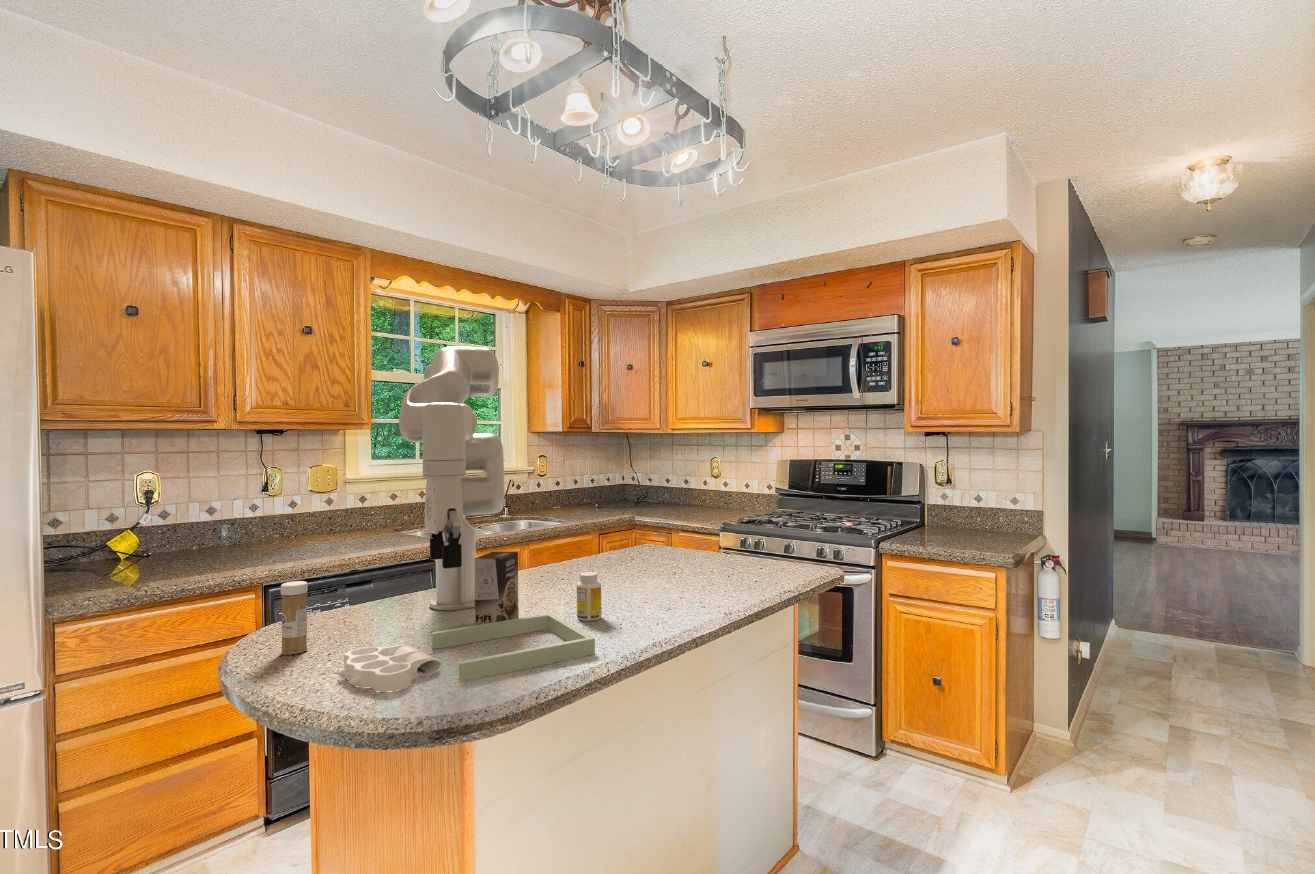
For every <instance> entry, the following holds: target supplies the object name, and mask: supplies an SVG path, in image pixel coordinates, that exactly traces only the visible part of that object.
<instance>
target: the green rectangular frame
mask: <svg viewBox="0 0 1315 874" xmlns="http://www.w3.org/2000/svg"><path fill="white" fill-rule="evenodd" d="M544 629H546V630H549V631H550V632H551V633H553V634H554V635H556V636H558V637H559V638H561V639H563V640H564V639H565V640H564V641H563V642H558V643H552V644H547V645H541V646H536V647H531V648H526V649H521V650H515V651H511V652H505V653H500V654H495V655H488V656H483V657H479V658H473V659H469V660H463V661H459V662H458V681H460V682H461V683H462V682H467V681H472V680H476V679H482V678H486V677H491V676H496V675H501V674H505V673H511V672H515V671H519V670H525V669H530V668H535V667H540V666H545V665H550V664H554V663H558V662H563V661H568V660H573V659H578V658H579V659H580V658H584V657H589V656H593V654H594V655H596V638H595V637H593V636H591V635H590V634H588V633H587V632H584V631H582V630H581V629H579V628H578V627H576V626H574V625H573V624H571V623H569V622H567V621H565V620H564V619H562V618H560V617H558V616H557V615H555V614H553V613H552V612H551V613H544V614H537V615H531V616H525V617H520V618H518V619H512V620H506V621H499V622H493V623H487V624H481V625H475V624H474V625H469V626H464V627H458V628H452V629H444V630H439V631H432V632H431V633H430V634H431V649H432V650H437V649H442V648H443V649H444V648H448V647H455V646H460V645H465V644H472V643H478V642H483V641H488V640H495V639H499V638H505V637H506V638H507V637H511V636H517V635H523V634H529V633H533V632H534V631H535V632H540V630H541V631H545V630H544ZM494 638H495V639H494ZM588 655H589V656H588ZM534 666H535V667H534Z"/></svg>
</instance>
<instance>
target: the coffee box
mask: <svg viewBox="0 0 1315 874" xmlns="http://www.w3.org/2000/svg"><path fill="white" fill-rule="evenodd" d="M519 610H520V609H519V552H518V551H491V552H489V553H485V554H483V555H479V556H476V558H475V607H474V626H475V625H481V624H487V623H493V622H499V621H506V620H512V619H518V618H519V617H520V615H519Z"/></svg>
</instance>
